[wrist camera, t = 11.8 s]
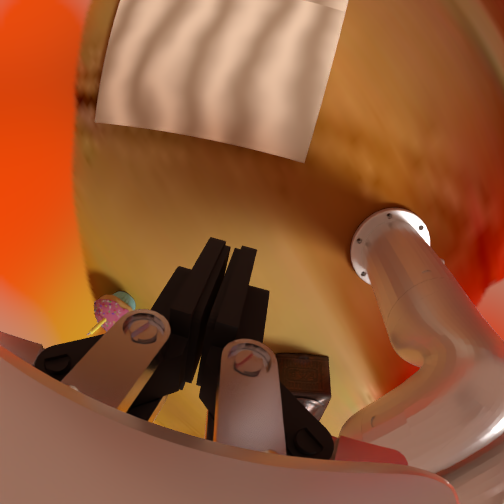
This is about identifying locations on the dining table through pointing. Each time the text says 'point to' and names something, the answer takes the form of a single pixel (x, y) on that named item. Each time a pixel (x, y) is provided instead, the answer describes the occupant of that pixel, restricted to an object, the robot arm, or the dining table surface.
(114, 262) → the dining table surface
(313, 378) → the coffee grinder
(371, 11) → the dining table surface
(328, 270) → the dining table surface
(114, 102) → the maple board
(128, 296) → the cupcake
